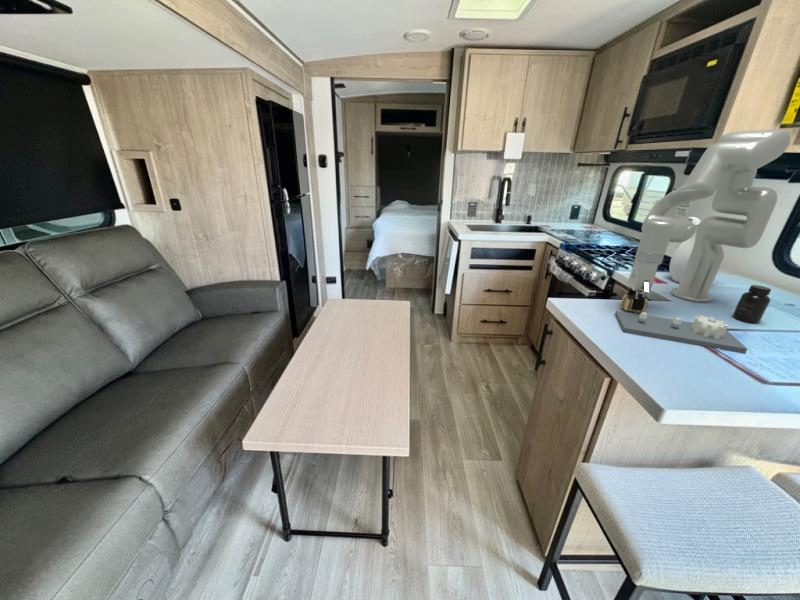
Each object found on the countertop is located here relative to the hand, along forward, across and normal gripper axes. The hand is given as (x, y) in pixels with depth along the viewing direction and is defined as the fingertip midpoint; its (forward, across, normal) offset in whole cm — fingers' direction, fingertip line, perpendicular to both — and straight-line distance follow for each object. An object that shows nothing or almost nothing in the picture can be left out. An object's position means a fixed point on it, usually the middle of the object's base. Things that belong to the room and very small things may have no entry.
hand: (633, 304), depth 117 cm
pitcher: (+4, -52, +31) cm, 60 cm away
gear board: (+2, +13, +9) cm, 16 cm away
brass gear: (+1, 0, 0) cm, 1 cm away
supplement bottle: (+3, -9, +36) cm, 37 cm away
